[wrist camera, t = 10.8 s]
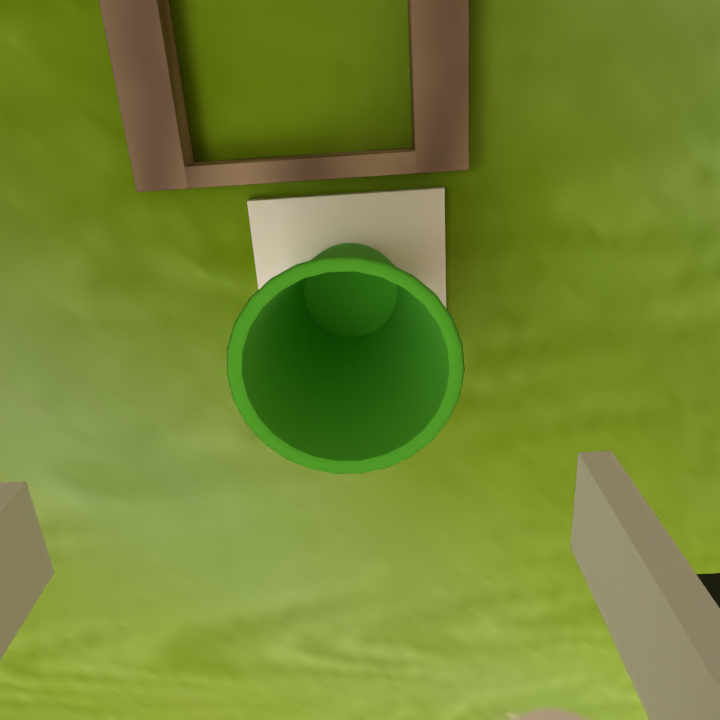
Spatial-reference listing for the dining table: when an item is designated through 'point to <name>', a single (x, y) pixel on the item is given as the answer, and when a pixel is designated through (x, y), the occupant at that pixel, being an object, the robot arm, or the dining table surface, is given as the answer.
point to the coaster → (353, 230)
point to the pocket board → (179, 171)
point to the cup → (345, 362)
